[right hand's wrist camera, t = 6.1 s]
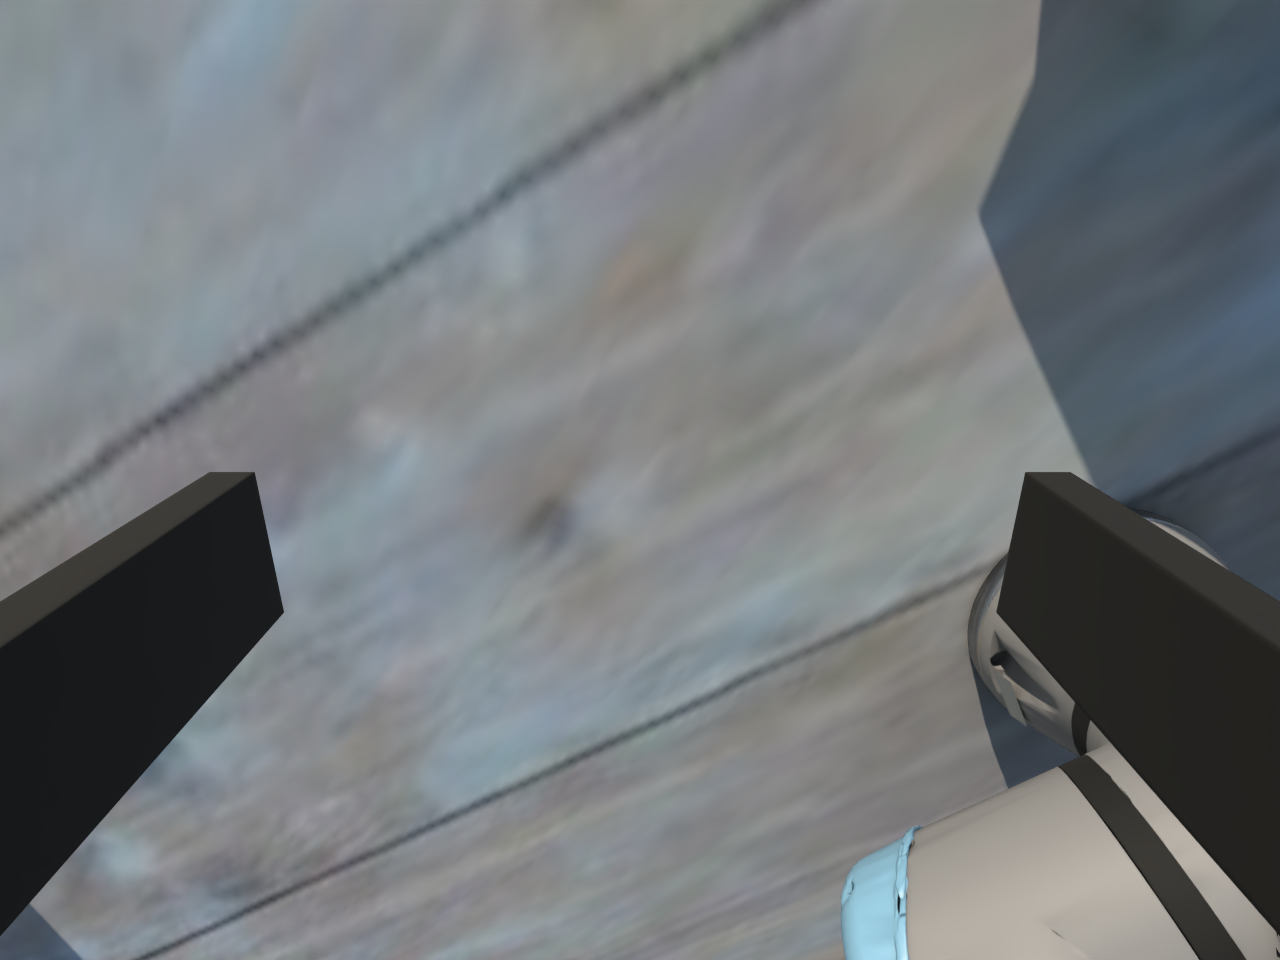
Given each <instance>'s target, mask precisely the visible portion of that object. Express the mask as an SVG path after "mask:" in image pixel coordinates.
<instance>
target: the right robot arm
mask: <svg viewBox="0 0 1280 960" xmlns="http://www.w3.org/2000/svg"><path fill="white" fill-rule="evenodd" d="M283 613H284V610H283V606H282V601H281V596H280V591H279V587H278V582H277V577H276V572H275V567H274V563H273V558H272V553H271V548H270V544H269V539H268V534H267V529H266V524H265V520H264V515H263V510H262V505H261V501H260V496H259V491H258V486H257V481H256V477H255V472H209V473H208V474H206V475H204V476H203V477H201V478H199V479H198V480H196V481H195V482H193V483H191V484H190V485H188V486H187V487H185V488H183V489H182V490H180V491H178V492H177V493H175V494H174V495H172V496H170V497H169V498H167V499H166V500H164V501H162V502H161V503H159V504H157V505H156V506H154V507H153V508H151V509H149V510H148V511H146V512H145V513H143V514H141V515H140V516H138V517H136V518H135V519H133V520H132V521H130V522H128V523H127V524H125V525H124V526H122V527H120V528H119V529H117V530H115V531H114V532H112V533H111V534H109V535H107V536H106V537H104V538H102V539H101V540H99V541H98V542H96V543H94V544H93V545H91V546H90V547H88V548H86V549H85V550H83V551H81V552H80V553H78V554H77V555H75V556H73V557H72V558H70V559H69V560H67V561H65V562H64V563H62V564H60V565H59V566H57V567H56V568H54V569H52V570H51V571H49V572H48V573H46V574H44V575H43V576H41V577H39V578H38V579H36V580H35V581H33V582H31V583H30V584H28V585H26V586H25V587H23V588H22V589H20V590H18V591H17V592H15V593H14V594H12V595H10V596H9V597H7V598H5V599H4V600H2V601H1V602H0V936H1V935H2V933H3V932H4V931H5V930H6V929H7V928H8V927H9V926H10V924H11V923H12V922H13V921H14V920H15V919H16V918H17V916H18V915H19V914H20V913H21V912H22V911H23V910H24V908H25V907H26V906H27V905H28V904H29V903H30V902H31V900H32V899H33V898H34V897H35V896H36V895H37V894H38V892H39V891H40V890H41V889H42V888H43V887H44V886H45V884H46V883H47V882H48V881H49V880H50V879H51V878H52V876H53V875H54V874H55V873H56V872H57V871H58V870H59V868H60V867H61V866H62V865H63V864H64V863H65V862H66V860H67V859H68V858H69V857H70V856H71V855H72V854H73V852H74V851H75V850H76V849H77V848H78V847H79V846H80V844H81V843H82V842H83V841H84V840H85V839H86V838H87V837H88V835H89V834H90V833H91V832H92V831H93V830H94V829H95V827H96V826H97V825H98V824H99V823H100V822H101V821H102V819H103V818H104V817H105V816H106V815H107V814H108V813H109V811H110V810H111V809H112V808H113V807H114V806H115V805H116V803H117V802H118V801H119V800H120V799H121V798H122V797H123V795H124V794H125V793H126V792H127V791H128V790H129V789H130V787H131V786H132V785H133V784H134V783H135V782H136V781H137V779H138V778H139V777H140V776H141V775H142V774H143V773H144V771H145V770H146V769H147V768H148V767H149V766H150V765H151V763H152V762H153V761H154V760H155V759H156V758H157V757H158V755H159V754H160V753H161V752H162V751H163V750H164V749H165V748H166V746H167V745H168V744H169V743H170V742H171V741H172V740H173V738H174V737H175V736H176V735H177V734H178V733H179V732H180V730H181V729H182V728H183V727H184V726H185V725H186V724H187V722H188V721H189V720H190V719H191V718H192V717H193V716H194V714H195V713H196V712H197V711H198V710H199V709H200V708H201V706H202V705H203V704H204V703H205V702H206V701H207V700H208V698H209V697H210V696H211V695H212V694H213V693H214V692H215V690H216V689H217V688H218V687H219V686H220V685H221V684H222V682H223V681H224V680H225V679H226V678H227V677H228V676H229V674H230V673H231V672H232V671H233V670H234V669H235V668H236V666H237V665H238V664H239V663H240V662H241V661H242V660H243V658H244V657H245V656H246V655H247V654H248V653H249V652H250V651H251V649H252V648H253V647H254V646H255V645H256V644H257V643H258V641H259V640H260V639H261V638H262V637H263V636H264V635H265V633H266V632H267V631H268V630H269V629H270V628H271V627H272V625H273V624H274V623H275V622H276V621H277V620H278V619H279V617H280V616H281V615H282V614H283ZM968 646H969V652H970V656H971V659H972V662H973V665H974V667H975V669H976V671H977V673H978V675H979V676H980V678H981V679H982V680H983V682H984V683H985V685H986V686H987V687H988V689H989V690H990V691H991V693H992V694H993V696H994V697H995V698H996V699H997V700H998V701H999V702H1000V704H1001V705H1003V706H1004V707H1005V708H1006V709H1007V710H1008V711H1009V714H1010V715H1011V716H1012V717H1014V718H1015V719H1016V720H1018V721H1019V722H1021V723H1022V724H1024V725H1025V726H1027V725H1026V724H1028V725H1030V726H1031V727H1033V728H1034V729H1036V730H1037V731H1039V732H1041V733H1042V734H1044V735H1045V736H1047V737H1048V738H1050V739H1052V740H1053V741H1055V742H1056V743H1058V744H1059V745H1061V746H1063V747H1064V748H1066V749H1067V750H1069V751H1070V752H1072V753H1074V754H1075V755H1077V756H1078V758H1076V759H1074V760H1071V761H1069V762H1067V763H1065V764H1063V765H1061V766H1058V767H1055V768H1053V769H1051V770H1049V771H1047V772H1044V773H1042V774H1040V775H1038V776H1036V777H1033V778H1031V779H1029V780H1027V781H1025V782H1022V783H1020V784H1018V785H1016V786H1014V787H1011V788H1009V789H1007V790H1005V791H1003V792H1000V793H998V794H996V795H994V796H992V797H989V798H987V799H985V800H983V801H981V802H978V803H976V804H974V805H972V806H970V807H967V808H965V809H963V810H961V811H959V812H956V813H954V814H952V815H950V816H948V817H945V818H943V819H941V820H939V821H937V822H934V823H932V824H930V825H928V826H926V827H921V826H920V825H919V826H915V827H912V828H910V829H909V830H908V831H907V832H906V833H905V835H904V837H902V838H900V839H898V840H897V841H895V842H893V843H891V844H889V845H887V846H885V847H883V848H882V849H880V850H878V851H876V852H874V853H872V854H870V855H868V856H867V857H865V858H863V859H861V860H860V861H859V862H857V863H856V864H855V865H854V867H853V868H852V869H851V871H850V872H849V874H848V876H847V878H846V880H845V883H844V887H843V891H842V898H841V930H842V939H843V947H844V954H845V960H1280V602H1279V601H1278V600H1276V599H1275V598H1273V597H1271V596H1270V595H1268V594H1266V593H1265V592H1263V591H1262V590H1260V589H1258V588H1257V587H1255V586H1254V585H1252V584H1250V583H1249V582H1247V581H1245V580H1244V579H1242V578H1241V577H1239V576H1237V575H1236V574H1234V573H1232V572H1231V571H1230V569H1229V568H1228V567H1227V565H1226V564H1225V562H1224V561H1223V560H1222V559H1221V557H1220V556H1219V555H1218V554H1217V553H1216V552H1215V551H1214V550H1213V549H1212V548H1211V547H1210V546H1209V545H1208V544H1207V543H1206V542H1204V541H1203V540H1202V539H1201V538H1200V537H1198V536H1196V535H1195V534H1193V533H1191V532H1190V531H1188V530H1186V529H1185V528H1183V527H1181V526H1180V525H1178V524H1176V523H1175V522H1173V521H1171V520H1169V519H1167V518H1165V517H1162V516H1159V515H1156V514H1153V513H1150V512H1145V511H1141V510H1133V509H1129V508H1127V507H1126V506H1124V505H1123V504H1121V503H1119V502H1118V501H1116V500H1114V499H1113V498H1111V497H1110V496H1108V495H1106V494H1105V493H1103V492H1102V491H1100V490H1098V489H1097V488H1095V487H1093V486H1092V485H1090V484H1089V483H1087V482H1085V481H1084V480H1082V479H1080V478H1079V477H1077V476H1076V475H1074V474H1072V473H1071V472H1025V477H1024V481H1023V486H1022V491H1021V496H1020V501H1019V505H1018V510H1017V515H1016V520H1015V524H1014V529H1013V534H1012V539H1011V544H1010V548H1009V552H1008V553H1007V554H1006V555H1005V556H1004V557H1003V558H1002V559H1001V560H1000V562H999V563H998V564H997V565H996V566H995V567H994V569H993V570H992V571H991V573H990V574H989V575H988V577H987V578H986V580H985V581H984V583H983V585H982V586H981V588H980V590H979V592H978V594H977V596H976V599H975V601H974V604H973V607H972V610H971V614H970V618H969V624H968Z"/></svg>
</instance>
